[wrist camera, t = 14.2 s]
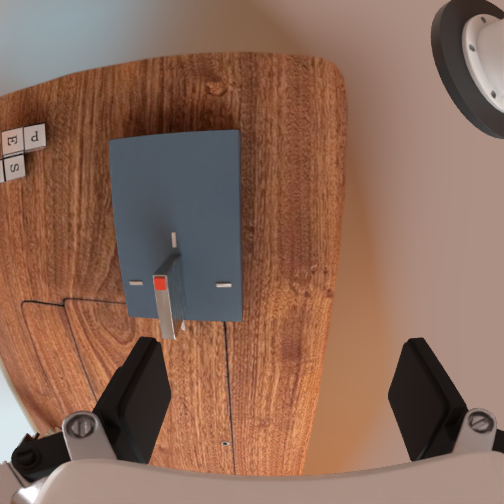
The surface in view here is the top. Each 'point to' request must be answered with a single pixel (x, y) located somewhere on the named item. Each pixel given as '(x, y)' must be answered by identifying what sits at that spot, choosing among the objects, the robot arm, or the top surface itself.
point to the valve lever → (170, 296)
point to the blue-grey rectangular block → (180, 219)
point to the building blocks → (19, 149)
